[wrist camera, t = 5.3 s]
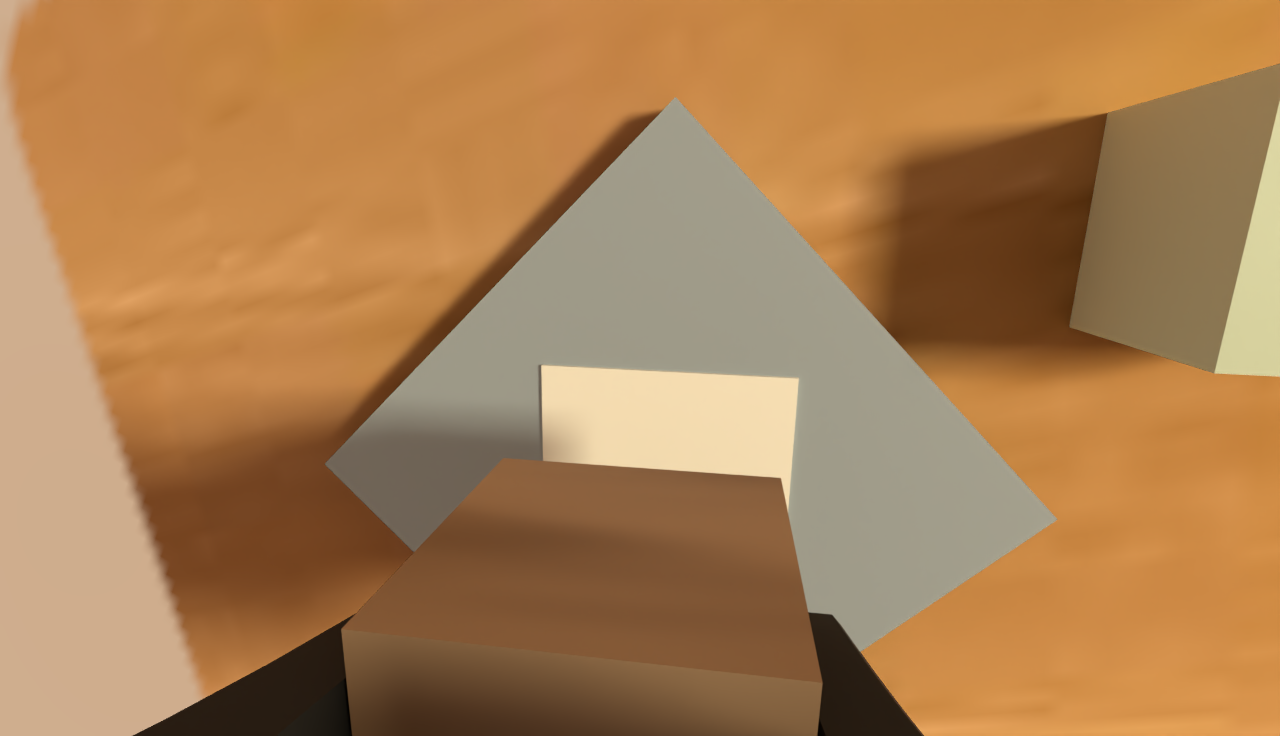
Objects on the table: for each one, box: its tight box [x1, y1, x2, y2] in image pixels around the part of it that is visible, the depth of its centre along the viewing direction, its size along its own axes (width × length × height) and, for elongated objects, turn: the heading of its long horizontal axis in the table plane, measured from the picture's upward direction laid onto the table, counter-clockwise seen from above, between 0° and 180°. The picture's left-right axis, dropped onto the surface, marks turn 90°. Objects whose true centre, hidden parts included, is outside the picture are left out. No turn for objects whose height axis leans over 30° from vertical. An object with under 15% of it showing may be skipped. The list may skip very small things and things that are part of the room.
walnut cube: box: [341, 458, 823, 736], centre depth 7 cm, size 4×4×4 cm
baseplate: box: [325, 97, 1057, 652], centre depth 14 cm, size 11×11×1 cm
